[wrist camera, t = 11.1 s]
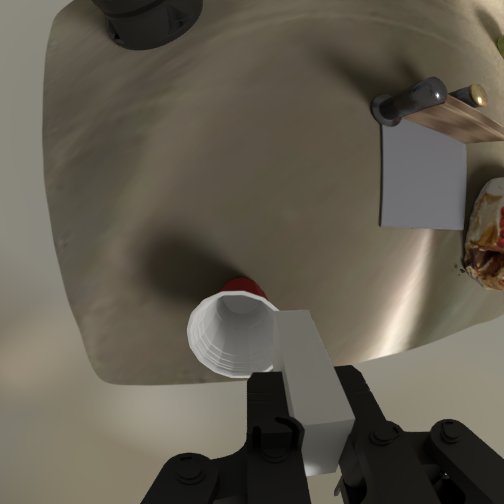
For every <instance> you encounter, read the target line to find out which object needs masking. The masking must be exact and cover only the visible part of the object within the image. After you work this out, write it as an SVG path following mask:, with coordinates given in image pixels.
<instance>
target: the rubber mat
mask: <svg viewBox="0 0 504 504" xmlns="http://www.w3.org/2000/svg"><path fill="white" fill-rule="evenodd" d="M381 129H382V201H381V220H380V227H401V228H429V229H452V230H463V229H464V218H465V205H466V177H467V164H466V144H465V143H462V142H460V141H458V140H456V139H454V138H451V137H449V136H447V135H444V134H442V133H440V132H437V131H435V130H432V129H430V128H427V127H425V126H422V125H420V124H417V123H414V122H412V121H409V120H406V119H403V118H402V120H401V122H400V123H399V124H398V125H397V126H394V127H388V126H385V125H383V124H382V125H381Z"/></svg>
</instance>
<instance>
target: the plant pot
mask: <svg viewBox="0 0 504 504" xmlns="http://www.w3.org/2000/svg"><path fill="white" fill-rule="evenodd" d="M497 46H498V49H499V51H500V53H501V55H502V56H503V57H504V36H503V37H502V38H500V39H499V40H498V43H497Z"/></svg>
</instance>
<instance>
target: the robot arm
mask: <svg viewBox="0 0 504 504" xmlns="http://www.w3.org/2000/svg"><path fill="white" fill-rule="evenodd" d="M91 1H92V2H93V3H94V4H95V5H96V6H97V7H98V8H99V9H100V10H101V11H102V12H103V13H104V16H105V21H106V25H107V30H108V33H109V35H110V37H111V38H112V39H113V40H114V41H115V42H116V43H117V44H118V45H119V46H121V47H123V48H126V49H130V50H148V49H153V48H157V47H160V46H163V45H165V44H167V43H169V42H171V41H173V40H175V39H177V38H178V37H180V36H181V35H183V34H184V33H185V32H186V31H188V30H189V29H190V28H191V27H192V26H193V24H194V23H195V22H196V21H197V19H198V17H199V16H200V13H201V11H202V6H203V0H91ZM272 363H273V371H274V372H253V373H252V375H251V376H250V378H249V379H248V381H247V439H246V442H245V444H244V446H243V447H242V448H241V449H240V450H239V451H237V452H235V453H234V454H232V455H229V456H226V457H221V458H217V459H212V460H210V459H209V458H208V457H206V456H203V455H201V454H196V453H183V454H178V455H176V456H174V457H172V458H170V459H169V460H168V461H167V462H166V463H165V464H164V466H163V468H162V469H161V471H160V472H159V474H158V476H157V478H156V479H155V481H154V483H153V484H152V486H151V487H150V489H149V491H148V492H147V494H146V495H145V497H144V499H143V500H142V502H141V503H140V504H311V500H310V495H309V489H308V483H307V478H306V476H313V475H319V474H327V473H333V472H336V469H337V467H338V464H339V466H340V468H341V473H342V476H341V478H340V480H339V482H338V484H337V486H336V488H335V490H334V496H338V494H339V492H340V491H341V494H342V498H343V502H344V504H504V459H503V458H502V457H501V456H499V455H498V454H497V453H496V452H495V451H494V450H493V449H491V448H490V447H489V446H488V445H487V444H486V443H485V442H483V441H482V440H481V439H480V438H479V437H478V436H476V435H475V434H474V433H473V432H472V431H471V430H469V429H468V428H467V427H466V426H465V425H464V424H462V423H461V422H459V421H456V420H453V419H444V420H441V421H438V422H437V423H436V424H435V425H434V426H433V427H432V428H431V430H430V432H405V431H403V430H402V429H401V427H400V426H399V425H397V424H395V423H393V422H391V421H387V420H386V419H385V417H384V415H383V413H382V411H381V409H380V407H379V405H378V404H377V402H376V400H375V398H374V396H373V394H372V392H371V391H370V389H369V387H368V385H367V384H366V381H365V379H364V378H363V376H362V374H361V372H359V371H358V370H357V369H356V368H354V367H353V366H352V365H346V366H336V367H333V365H332V362H331V360H330V358H329V355H328V353H327V351H326V349H325V346H324V344H323V342H322V340H321V337H320V335H319V333H318V331H317V328H316V326H315V324H314V322H313V319H312V317H311V315H310V313H309V311H308V310H290V311H274V329H273V357H272ZM445 473H446V474H447V475H445Z"/></svg>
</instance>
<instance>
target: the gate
mask: <svg viewBox="0 0 504 504" xmlns="http://www.w3.org/2000/svg"><path fill="white" fill-rule="evenodd" d="M400 118H403V119H406V120H409V121H412V122H414V123H417V124H420V125H422V126H425V127H427V128H430V129H432V130H435V131H437V132H440V133H442V134H444V135H447V136H449V137H451V138H454V139H456V140H458V141H460V142H462V143H465V144H466V143H478V142H492V141H504V127H503V126H502V125H500V124H499V123H497V122H495V121H494V120H492V119H491V118H489V117H488V116H486V115H484V114H483V113H481V112H479V111H478V110H476V109H474V108H472V107H471V106H469V105H467V104H465V103H463V102H462V101H460V100H458V99H456V98H454V97H452V96H450V95H448V96H447V100H446V101H445V102H443V103H440V104H436V105H433V106H430V107H427V108H424V109H421V110H418V111H416V112H413V113H410V114H407V115H404V116H401V117H400Z"/></svg>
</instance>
